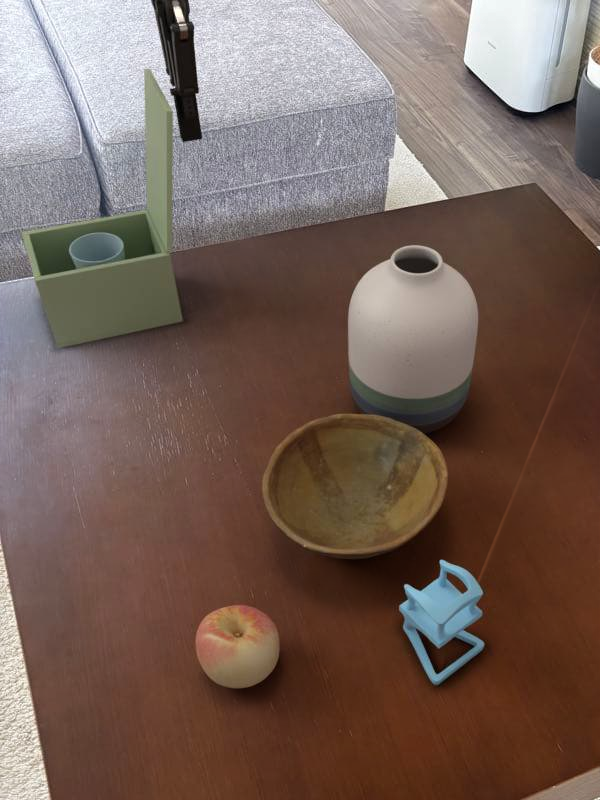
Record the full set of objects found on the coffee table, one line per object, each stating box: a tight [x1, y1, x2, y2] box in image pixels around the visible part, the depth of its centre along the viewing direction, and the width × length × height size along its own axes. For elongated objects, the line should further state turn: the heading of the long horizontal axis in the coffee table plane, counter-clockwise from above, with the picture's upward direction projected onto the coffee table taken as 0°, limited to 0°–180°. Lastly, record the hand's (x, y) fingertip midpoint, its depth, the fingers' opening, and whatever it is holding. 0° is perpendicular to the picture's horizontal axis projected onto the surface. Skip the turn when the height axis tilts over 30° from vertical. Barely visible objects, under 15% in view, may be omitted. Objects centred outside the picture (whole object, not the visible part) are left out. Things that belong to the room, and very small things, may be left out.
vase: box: [347, 244, 479, 435], centre depth 114 cm, size 17×17×24 cm
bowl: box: [261, 413, 449, 560], centre depth 105 cm, size 22×23×10 cm
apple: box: [195, 604, 281, 689], centre depth 93 cm, size 9×9×8 cm
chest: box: [21, 209, 184, 349], centre depth 130 cm, size 19×13×12 cm
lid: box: [143, 68, 174, 253], centre depth 120 cm, size 20×13×1 cm
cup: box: [69, 233, 125, 269], centre depth 130 cm, size 8×8×10 cm
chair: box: [398, 559, 485, 686], centre depth 94 cm, size 8×8×12 cm
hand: (191, 137), depth 119 cm, fingers closed
